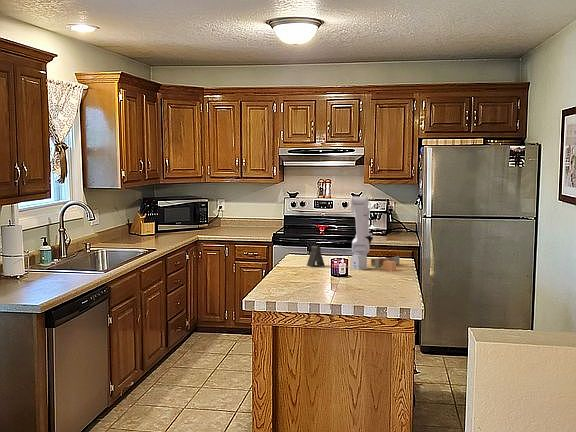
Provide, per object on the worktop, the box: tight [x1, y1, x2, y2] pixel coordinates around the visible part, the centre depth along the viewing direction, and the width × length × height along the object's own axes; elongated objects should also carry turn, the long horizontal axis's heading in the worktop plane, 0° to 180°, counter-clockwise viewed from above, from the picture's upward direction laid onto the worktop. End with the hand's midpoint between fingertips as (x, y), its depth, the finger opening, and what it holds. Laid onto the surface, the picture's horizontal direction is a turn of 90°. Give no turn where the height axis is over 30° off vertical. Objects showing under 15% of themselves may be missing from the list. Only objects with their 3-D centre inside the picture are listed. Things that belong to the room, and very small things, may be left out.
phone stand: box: [306, 245, 326, 268], centre depth 372 cm, size 9×6×12 cm, turn 120°
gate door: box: [370, 257, 392, 267], centre depth 373 cm, size 14×1×4 cm, turn 107°
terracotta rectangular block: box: [382, 261, 397, 272], centre depth 359 cm, size 4×6×5 cm, turn 45°
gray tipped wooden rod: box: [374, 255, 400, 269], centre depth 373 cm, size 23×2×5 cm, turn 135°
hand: (363, 249), depth 378 cm, fingers open, 7 cm apart
